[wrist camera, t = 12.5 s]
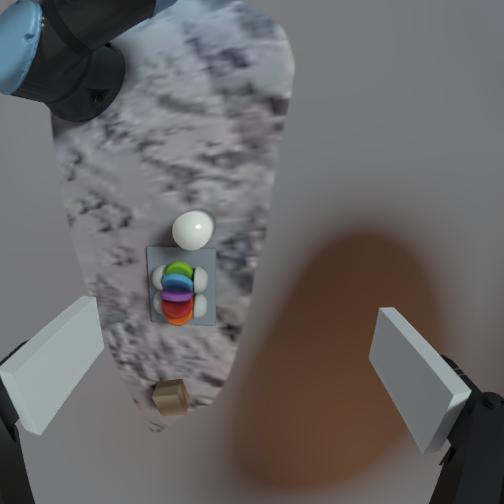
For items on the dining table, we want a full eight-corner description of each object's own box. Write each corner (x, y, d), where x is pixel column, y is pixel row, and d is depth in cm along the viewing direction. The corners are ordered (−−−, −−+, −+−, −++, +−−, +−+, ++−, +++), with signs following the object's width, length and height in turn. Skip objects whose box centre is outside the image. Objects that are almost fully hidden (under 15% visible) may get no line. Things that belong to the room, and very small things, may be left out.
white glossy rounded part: (180, 213, 47) (168, 218, 40) (211, 205, 46) (203, 208, 40) (188, 245, 48) (178, 254, 41) (219, 236, 47) (213, 245, 41)
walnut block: (158, 381, 54) (151, 396, 50) (181, 378, 54) (176, 395, 49) (167, 400, 56) (161, 416, 51) (190, 398, 55) (186, 414, 51)
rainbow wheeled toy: (158, 311, 50) (145, 331, 43) (157, 255, 48) (142, 269, 41) (208, 316, 50) (201, 338, 43) (210, 259, 48) (203, 274, 41)
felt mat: (148, 245, 48) (146, 246, 47) (215, 248, 48) (215, 249, 47) (153, 319, 51) (152, 321, 50) (215, 323, 51) (215, 325, 51)
